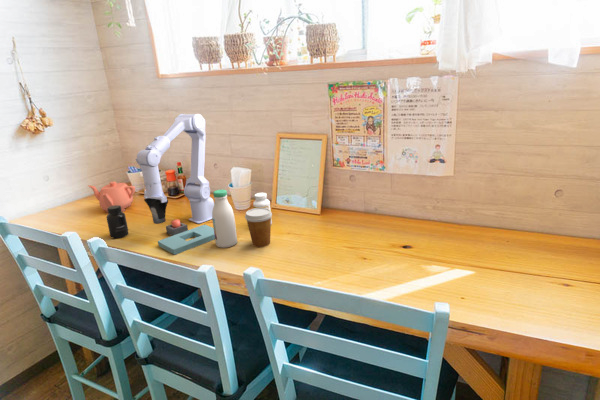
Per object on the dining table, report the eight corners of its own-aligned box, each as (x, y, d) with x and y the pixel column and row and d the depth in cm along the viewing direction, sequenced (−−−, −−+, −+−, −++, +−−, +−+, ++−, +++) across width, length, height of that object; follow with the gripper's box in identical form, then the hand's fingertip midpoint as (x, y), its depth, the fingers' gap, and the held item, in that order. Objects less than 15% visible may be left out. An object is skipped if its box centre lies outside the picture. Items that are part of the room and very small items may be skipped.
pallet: (205, 229, 163) (204, 224, 162) (222, 236, 154) (221, 231, 154) (158, 246, 149) (157, 241, 149) (174, 255, 141) (173, 249, 141)
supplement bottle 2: (260, 221, 167) (257, 191, 163) (275, 222, 164) (272, 192, 160) (252, 227, 161) (248, 196, 157) (266, 228, 158) (263, 197, 154)
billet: (162, 218, 157) (159, 203, 155) (167, 221, 154) (165, 206, 152) (151, 222, 154) (148, 207, 152) (156, 224, 151) (153, 209, 149)
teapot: (108, 217, 184) (101, 188, 180) (93, 210, 195) (86, 183, 191) (141, 207, 195) (136, 180, 191) (125, 201, 206) (120, 175, 202)
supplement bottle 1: (122, 239, 158) (116, 210, 154) (106, 238, 160) (100, 210, 156) (132, 232, 164) (126, 204, 161) (117, 231, 166) (111, 204, 162)
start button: (178, 226, 162) (177, 218, 161) (182, 228, 160) (181, 220, 159) (171, 229, 160) (169, 221, 159) (175, 231, 158) (173, 223, 157)
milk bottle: (241, 240, 149) (235, 188, 143) (229, 249, 143) (222, 195, 136) (224, 238, 152) (217, 187, 146) (211, 246, 146) (203, 193, 140)
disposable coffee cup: (263, 235, 152) (260, 205, 149) (280, 242, 146) (277, 210, 142) (242, 244, 146) (238, 213, 142) (259, 251, 140) (256, 218, 136)
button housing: (180, 228, 165) (179, 221, 164) (188, 232, 161) (187, 225, 160) (166, 233, 161) (165, 226, 160) (174, 237, 157) (173, 229, 156)
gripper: (133, 181, 151) (140, 216, 156) (150, 188, 141) (157, 224, 146) (151, 177, 156) (158, 210, 160) (169, 183, 146) (175, 218, 150)
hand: (159, 217), depth 153 cm, fingers closed on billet, 4 cm apart
